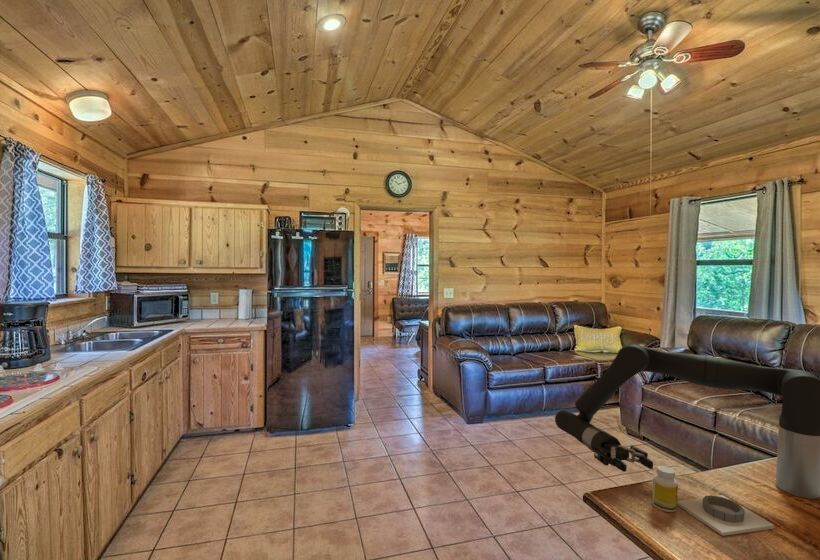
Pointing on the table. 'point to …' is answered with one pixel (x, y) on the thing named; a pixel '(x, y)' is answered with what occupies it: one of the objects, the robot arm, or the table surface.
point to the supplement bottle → (665, 489)
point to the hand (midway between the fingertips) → (638, 467)
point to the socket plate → (723, 525)
